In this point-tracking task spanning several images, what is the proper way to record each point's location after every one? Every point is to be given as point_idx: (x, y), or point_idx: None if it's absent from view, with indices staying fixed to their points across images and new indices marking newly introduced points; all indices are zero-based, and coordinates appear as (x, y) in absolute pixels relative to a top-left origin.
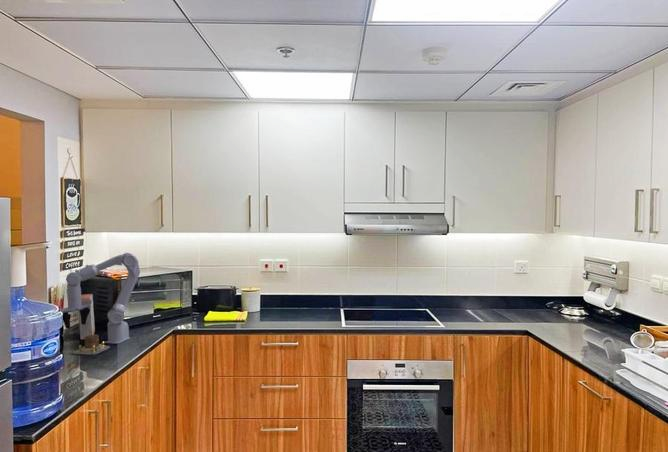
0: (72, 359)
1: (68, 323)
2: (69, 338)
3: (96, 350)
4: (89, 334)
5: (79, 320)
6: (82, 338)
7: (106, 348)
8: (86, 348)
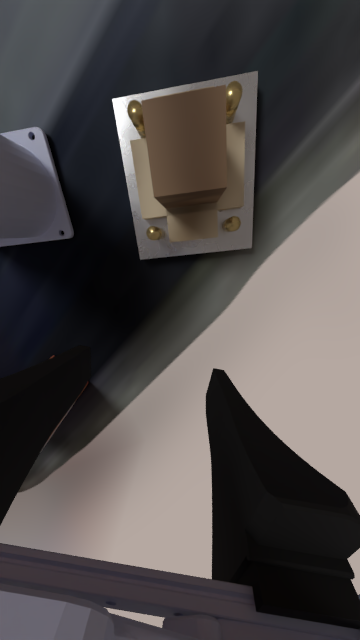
0: (341, 157)
1: (240, 397)
2: (94, 426)
3: None
4: None
5: None
6: None
7: (143, 98)
8: (228, 177)
